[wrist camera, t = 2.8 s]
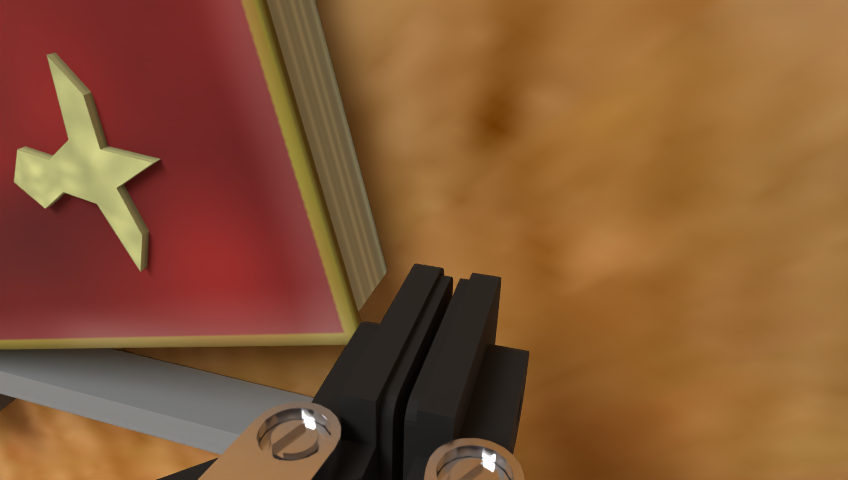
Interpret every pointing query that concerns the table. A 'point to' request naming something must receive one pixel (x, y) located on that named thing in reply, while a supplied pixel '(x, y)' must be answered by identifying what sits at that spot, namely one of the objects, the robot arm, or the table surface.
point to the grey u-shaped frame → (139, 393)
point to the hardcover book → (177, 178)
